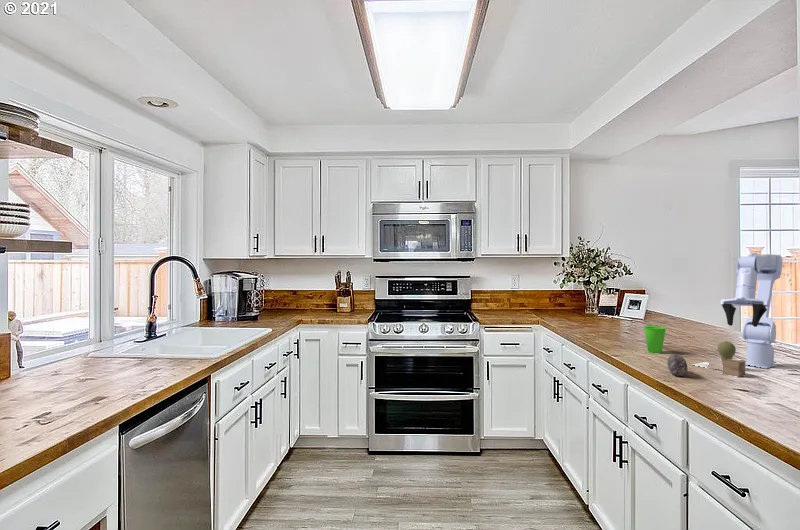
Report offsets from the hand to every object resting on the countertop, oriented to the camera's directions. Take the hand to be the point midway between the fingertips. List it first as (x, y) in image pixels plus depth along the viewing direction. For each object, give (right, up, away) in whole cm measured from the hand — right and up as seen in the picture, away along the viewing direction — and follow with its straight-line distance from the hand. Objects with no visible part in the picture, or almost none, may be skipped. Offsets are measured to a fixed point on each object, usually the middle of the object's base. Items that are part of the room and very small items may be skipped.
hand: (742, 325), depth 169 cm
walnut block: (-2, -18, +1) cm, 18 cm away
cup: (-8, -17, +42) cm, 46 cm away
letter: (0, -17, +13) cm, 22 cm away
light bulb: (+2, -17, +11) cm, 21 cm away
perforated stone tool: (-21, -18, +4) cm, 28 cm away
